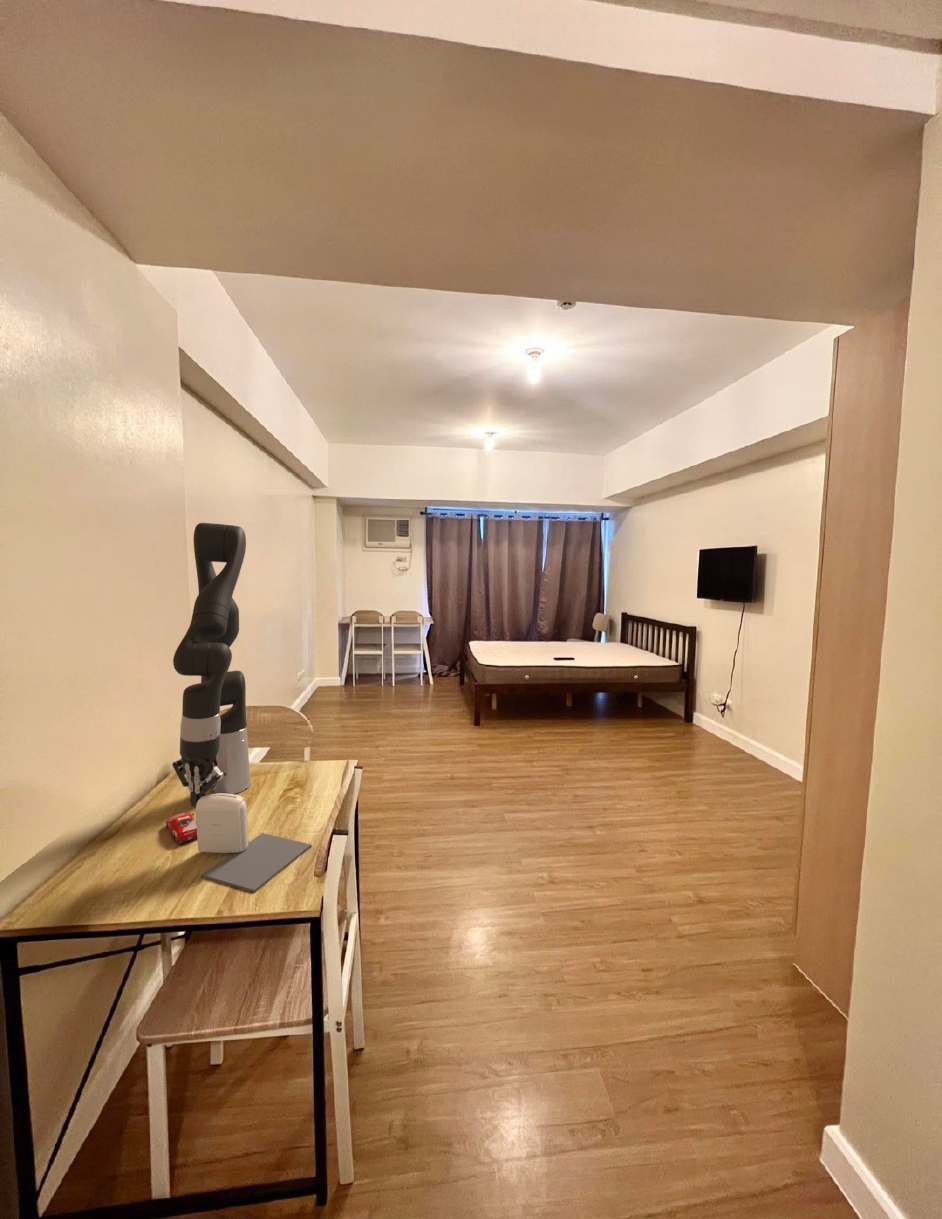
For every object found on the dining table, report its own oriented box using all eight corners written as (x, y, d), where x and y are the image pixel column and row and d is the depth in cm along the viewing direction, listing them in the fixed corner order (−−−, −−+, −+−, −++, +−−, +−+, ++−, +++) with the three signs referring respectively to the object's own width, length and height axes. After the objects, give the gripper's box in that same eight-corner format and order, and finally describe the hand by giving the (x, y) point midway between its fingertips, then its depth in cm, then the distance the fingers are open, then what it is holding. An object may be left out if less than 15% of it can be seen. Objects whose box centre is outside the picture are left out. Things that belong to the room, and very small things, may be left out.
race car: (164, 826, 116) (163, 810, 116) (190, 818, 120) (188, 803, 119) (175, 849, 106) (174, 831, 106) (203, 839, 110) (201, 822, 110)
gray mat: (201, 876, 96) (200, 874, 96) (262, 835, 111) (262, 833, 111) (254, 892, 91) (254, 890, 91) (311, 846, 105) (311, 844, 105)
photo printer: (194, 853, 102) (191, 799, 100) (205, 841, 106) (202, 789, 105) (242, 855, 102) (240, 801, 100) (251, 842, 106) (249, 790, 105)
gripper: (161, 731, 101) (159, 806, 104) (211, 746, 98) (207, 823, 101) (191, 719, 108) (188, 789, 111) (238, 733, 105) (234, 805, 108)
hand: (197, 805), depth 106 cm, fingers closed
